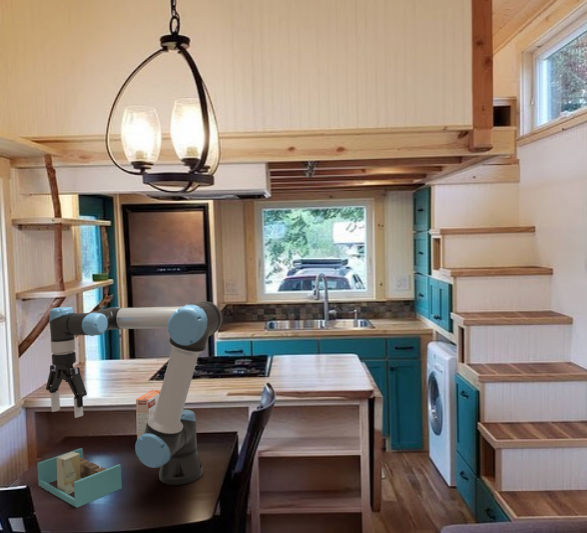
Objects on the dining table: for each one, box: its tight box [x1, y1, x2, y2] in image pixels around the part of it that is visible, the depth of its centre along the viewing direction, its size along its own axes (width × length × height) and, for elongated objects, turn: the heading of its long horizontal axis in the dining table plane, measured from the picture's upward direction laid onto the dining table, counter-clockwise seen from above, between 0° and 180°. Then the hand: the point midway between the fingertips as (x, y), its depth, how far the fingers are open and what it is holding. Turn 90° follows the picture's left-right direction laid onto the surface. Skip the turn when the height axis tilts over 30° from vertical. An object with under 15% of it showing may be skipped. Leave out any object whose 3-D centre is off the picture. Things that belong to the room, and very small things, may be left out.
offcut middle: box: [83, 461, 100, 478], centre depth 181 cm, size 5×3×6 cm, turn 51°
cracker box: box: [135, 389, 161, 441], centre depth 214 cm, size 14×6×21 cm, turn 168°
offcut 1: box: [80, 457, 89, 479], centre depth 185 cm, size 5×3×6 cm, turn 51°
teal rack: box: [37, 447, 123, 508], centre depth 177 cm, size 26×16×8 cm, turn 51°
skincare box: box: [56, 451, 81, 495], centre depth 174 cm, size 6×4×12 cm
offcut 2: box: [94, 466, 107, 474], centre depth 176 cm, size 5×3×6 cm, turn 51°
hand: (67, 413), depth 178 cm, fingers open, 13 cm apart
